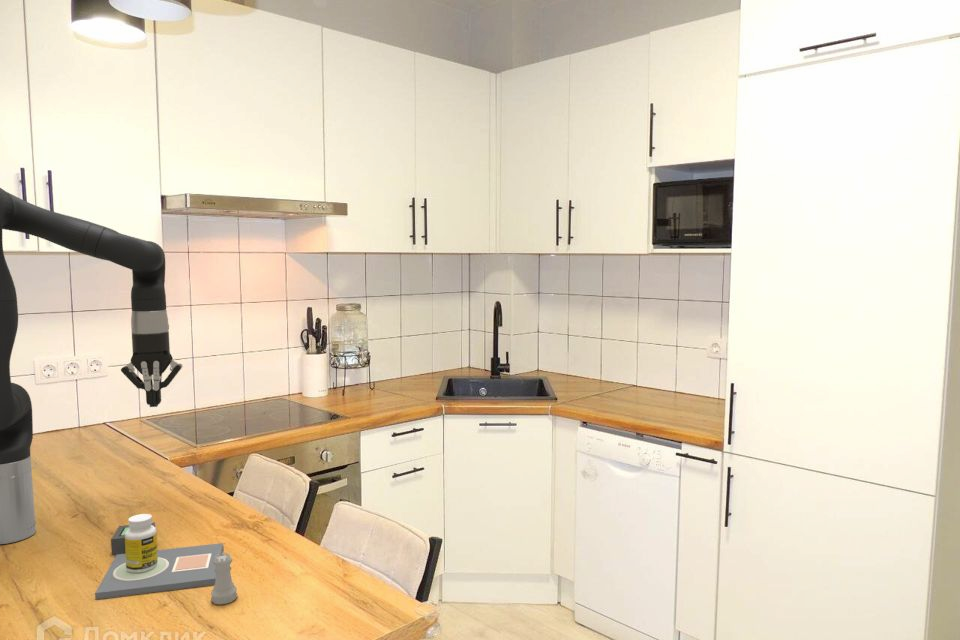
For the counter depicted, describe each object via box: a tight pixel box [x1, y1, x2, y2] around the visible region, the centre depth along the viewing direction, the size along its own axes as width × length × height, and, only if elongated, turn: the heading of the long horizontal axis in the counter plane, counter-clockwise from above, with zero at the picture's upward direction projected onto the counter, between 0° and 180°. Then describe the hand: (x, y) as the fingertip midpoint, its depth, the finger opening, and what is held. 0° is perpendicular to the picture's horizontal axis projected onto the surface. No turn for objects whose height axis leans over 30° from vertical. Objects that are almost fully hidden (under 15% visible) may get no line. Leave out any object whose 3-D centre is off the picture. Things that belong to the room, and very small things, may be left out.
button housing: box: [110, 521, 156, 557], centre depth 143 cm, size 7×7×4 cm
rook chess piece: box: [210, 552, 238, 606], centre depth 121 cm, size 4×4×8 cm
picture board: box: [94, 542, 225, 601], centre depth 131 cm, size 20×16×1 cm
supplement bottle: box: [125, 513, 158, 573], centre depth 130 cm, size 5×5×10 cm
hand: (154, 406), depth 155 cm, fingers closed
